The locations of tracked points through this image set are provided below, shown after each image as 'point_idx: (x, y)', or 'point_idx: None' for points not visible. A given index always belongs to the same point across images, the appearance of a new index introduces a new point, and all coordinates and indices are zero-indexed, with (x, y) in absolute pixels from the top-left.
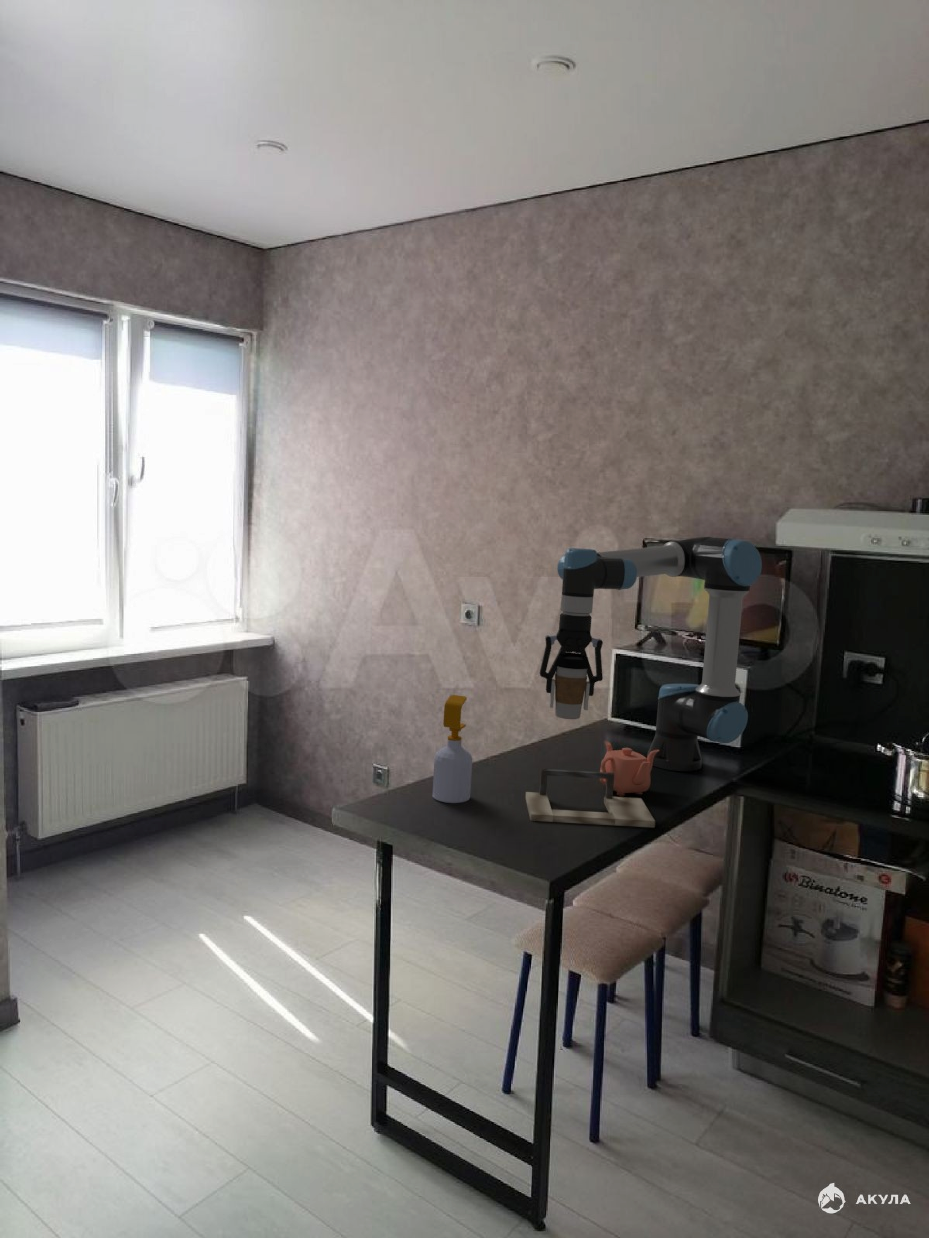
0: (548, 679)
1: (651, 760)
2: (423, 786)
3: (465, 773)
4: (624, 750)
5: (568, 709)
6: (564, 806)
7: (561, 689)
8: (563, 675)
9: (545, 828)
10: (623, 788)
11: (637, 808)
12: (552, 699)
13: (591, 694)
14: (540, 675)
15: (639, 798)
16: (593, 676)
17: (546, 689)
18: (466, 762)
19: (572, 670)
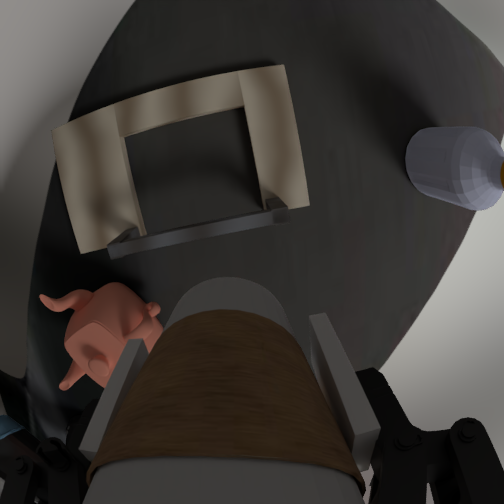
0: (410, 427)
1: (71, 366)
2: (466, 209)
3: (443, 136)
4: (101, 360)
5: (219, 296)
6: (221, 176)
7: (287, 372)
8: (300, 478)
9: (248, 38)
10: (112, 282)
11: (78, 187)
12: (327, 341)
13: (96, 405)
14: (476, 420)
15: (83, 251)
16: (49, 486)
17: (385, 380)
18: (458, 138)
19: None
